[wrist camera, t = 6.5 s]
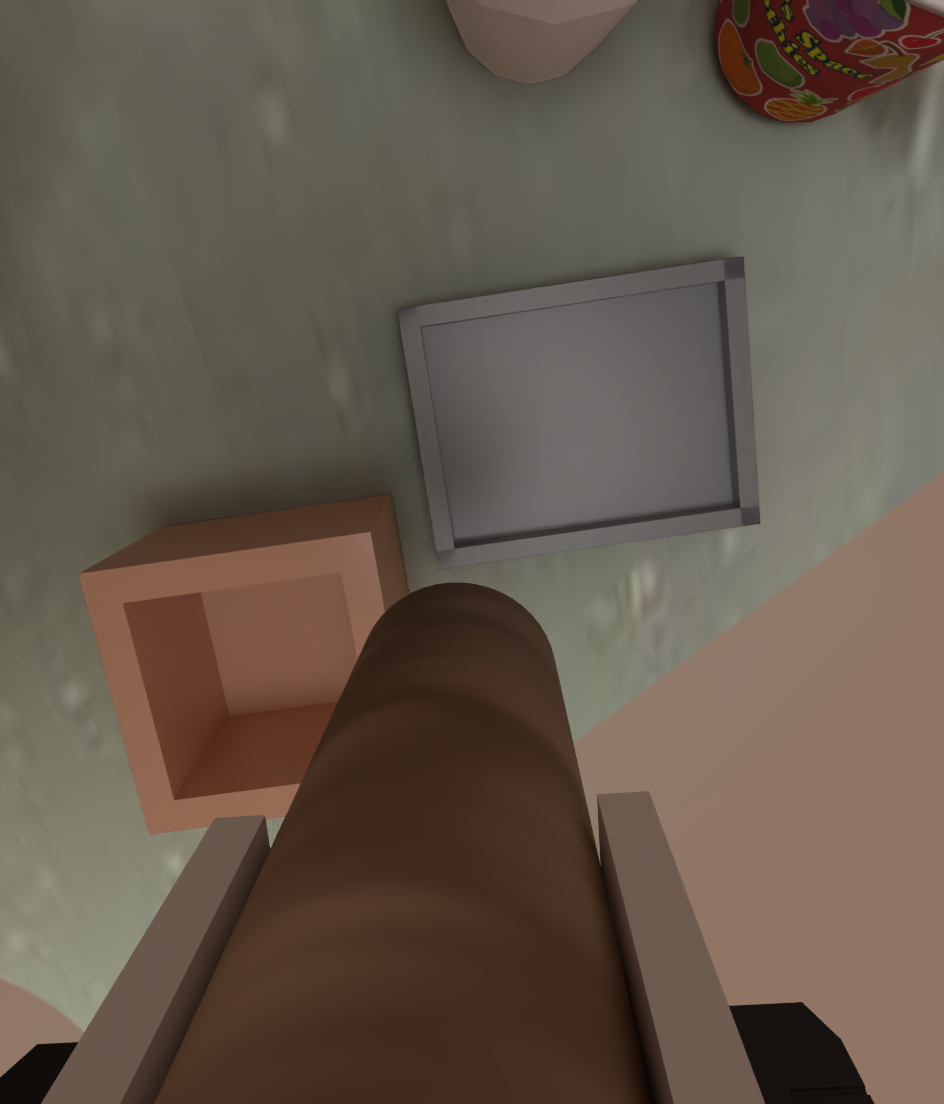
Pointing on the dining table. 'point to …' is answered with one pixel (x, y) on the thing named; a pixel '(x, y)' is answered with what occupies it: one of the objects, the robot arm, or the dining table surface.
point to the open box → (238, 649)
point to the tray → (585, 412)
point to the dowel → (428, 894)
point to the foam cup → (534, 33)
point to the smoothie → (823, 51)
